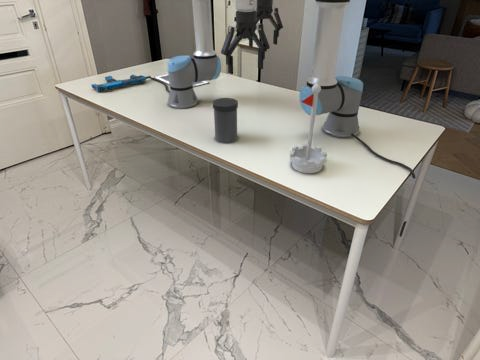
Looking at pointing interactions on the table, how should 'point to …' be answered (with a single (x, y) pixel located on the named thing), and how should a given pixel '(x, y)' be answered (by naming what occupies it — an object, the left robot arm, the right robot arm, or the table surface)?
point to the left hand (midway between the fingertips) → (245, 70)
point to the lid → (225, 104)
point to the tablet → (166, 79)
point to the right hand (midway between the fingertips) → (263, 45)
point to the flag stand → (309, 143)
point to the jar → (225, 126)
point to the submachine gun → (119, 82)
